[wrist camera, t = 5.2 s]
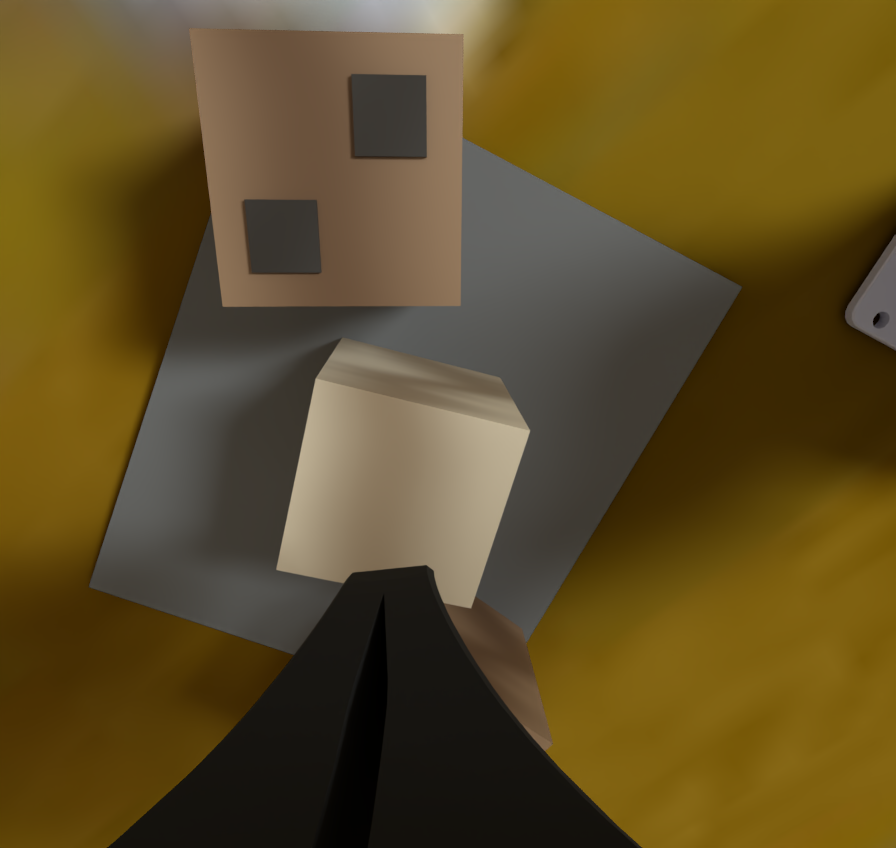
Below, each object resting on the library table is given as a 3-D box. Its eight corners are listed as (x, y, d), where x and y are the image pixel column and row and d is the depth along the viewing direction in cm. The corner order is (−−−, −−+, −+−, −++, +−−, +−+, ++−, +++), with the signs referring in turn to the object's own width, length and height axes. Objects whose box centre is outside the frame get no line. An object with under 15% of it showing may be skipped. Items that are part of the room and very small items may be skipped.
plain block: (500, 377, 18) (530, 430, 13) (457, 516, 20) (470, 608, 15) (342, 337, 17) (315, 378, 13) (310, 484, 19) (275, 570, 14)
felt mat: (735, 285, 18) (742, 287, 18) (480, 708, 23) (481, 717, 22) (272, 39, 15) (269, 35, 15) (94, 580, 20) (88, 587, 20)
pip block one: (522, 628, 21) (553, 747, 16) (435, 714, 22) (440, 848, 18) (416, 555, 20) (417, 659, 15) (329, 649, 21) (304, 774, 16)
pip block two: (448, 92, 16) (463, 32, 11) (448, 283, 17) (460, 306, 12) (259, 89, 15) (187, 27, 10) (276, 284, 17) (221, 307, 12)
